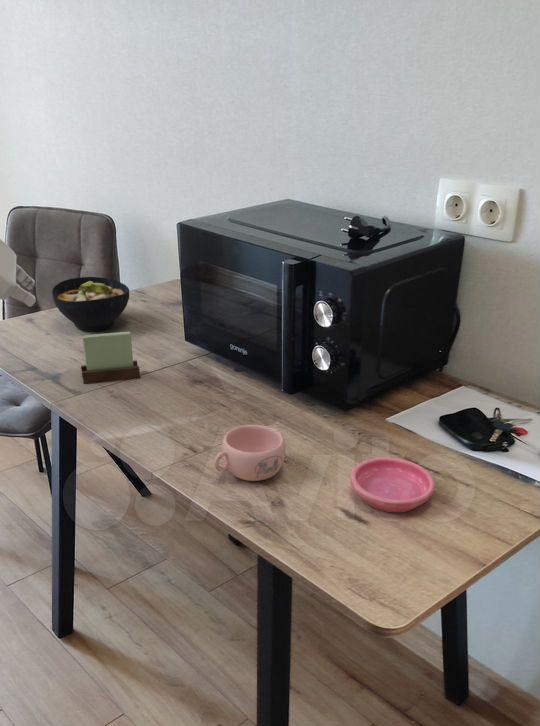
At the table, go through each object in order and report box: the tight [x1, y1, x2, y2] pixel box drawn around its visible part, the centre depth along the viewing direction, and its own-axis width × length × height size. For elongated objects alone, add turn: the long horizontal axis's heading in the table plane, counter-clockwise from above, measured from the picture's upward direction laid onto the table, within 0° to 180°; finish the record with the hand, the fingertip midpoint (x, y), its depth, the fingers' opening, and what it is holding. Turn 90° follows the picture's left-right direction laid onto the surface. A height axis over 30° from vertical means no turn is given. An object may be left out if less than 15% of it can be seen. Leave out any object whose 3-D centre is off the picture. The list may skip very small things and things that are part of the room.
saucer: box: [350, 456, 436, 513], centre depth 106 cm, size 12×12×3 cm
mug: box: [213, 424, 287, 482], centre depth 109 cm, size 12×10×6 cm
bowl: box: [51, 276, 130, 333], centre depth 161 cm, size 17×17×10 cm
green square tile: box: [82, 331, 134, 371], centre depth 137 cm, size 9×1×9 cm, turn 107°
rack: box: [80, 359, 141, 385], centre depth 139 cm, size 11×4×2 cm, turn 107°
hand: (33, 294), depth 127 cm, fingers open, 8 cm apart
